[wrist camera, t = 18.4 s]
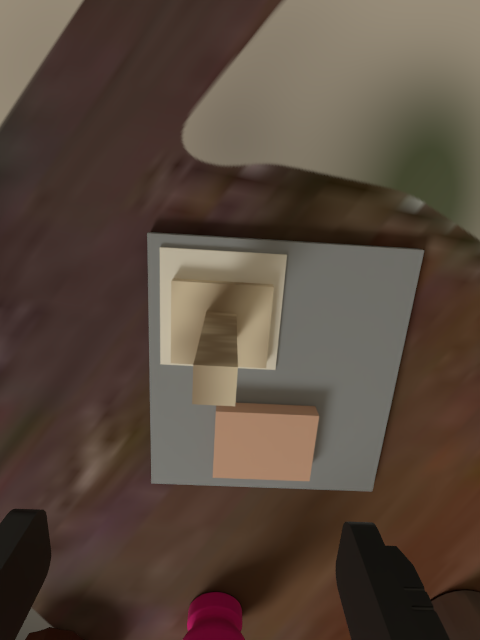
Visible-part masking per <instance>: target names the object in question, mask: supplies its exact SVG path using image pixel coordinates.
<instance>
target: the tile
mask: <svg viewBox="0 0 480 640" xmlns="http://www.w3.org/2000/svg"><path fill="white" fill-rule="evenodd" d="M318 421H319V414H318V412H317V409H316V407H315V406H301V405H279V404H256V403H235V406H218V405H216V417H215V438H214V459H213V478H233V479H260V480H286V481H310V475H311V468H312V461H313V455H314V448H315V441H316V434H317V428H318Z"/></svg>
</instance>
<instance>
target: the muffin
mask: <svg viewBox="0 0 480 640" xmlns="http://www.w3.org/2000/svg"><path fill="white" fill-rule="evenodd" d="M25 640H84V639H83V638H81V637H80V636H79V635H77V634H76V633H75V632H74V631H68V630H60V629H56V628H51V627H49V628H47V629H44V630H41V631H37V632H32V633H29V635H28V636H27V638H26V639H25Z"/></svg>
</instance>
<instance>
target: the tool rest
mask: <svg viewBox="0 0 480 640" xmlns="http://www.w3.org/2000/svg"><path fill="white" fill-rule="evenodd" d="M286 260H287V255H286V254H269V253H252V252H236V251H219V250H202V249H186V248H169V247H160V364H163V365H184V366H193V364H175V363H171V281H172V279H173V278H178V279H194V280H211V281H227V282H243V283H260V284H273V286H274V292H273V302H272V313H271V323H270V333H269V344H268V354H267V364H266V368H252V367H238V368H245V369H266V370H275V369H276V359H277V349H278V339H279V329H280V320H281V310H282V300H283V290H284V280H285V270H286Z"/></svg>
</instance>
